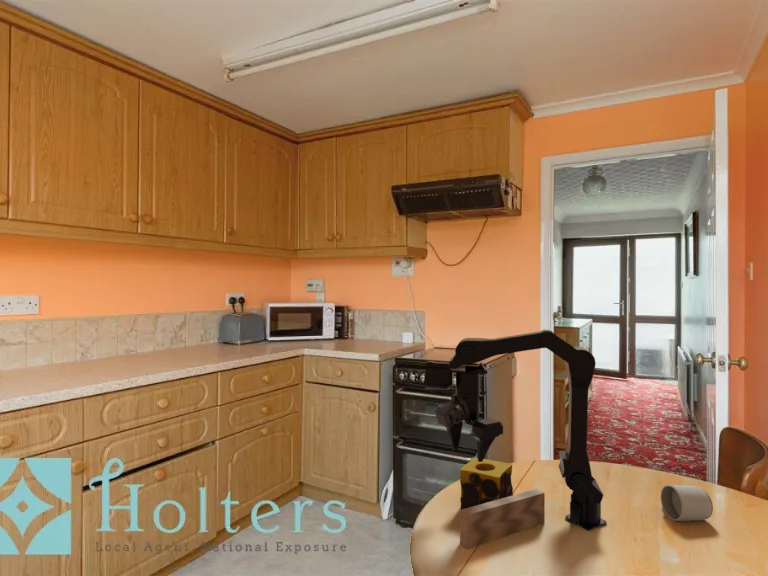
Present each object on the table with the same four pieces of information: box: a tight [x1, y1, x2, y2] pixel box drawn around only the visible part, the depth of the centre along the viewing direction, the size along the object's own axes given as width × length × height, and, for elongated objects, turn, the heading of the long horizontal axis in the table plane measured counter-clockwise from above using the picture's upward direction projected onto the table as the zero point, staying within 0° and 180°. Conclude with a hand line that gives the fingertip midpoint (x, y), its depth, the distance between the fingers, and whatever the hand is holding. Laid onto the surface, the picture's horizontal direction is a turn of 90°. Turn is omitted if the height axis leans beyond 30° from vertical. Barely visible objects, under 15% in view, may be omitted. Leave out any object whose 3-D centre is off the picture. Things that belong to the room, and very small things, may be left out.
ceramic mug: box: [660, 484, 714, 522], centre depth 112 cm, size 11×8×8 cm
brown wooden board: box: [459, 488, 546, 550], centre depth 104 cm, size 22×2×7 cm, turn 118°
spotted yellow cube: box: [459, 456, 514, 510], centre depth 117 cm, size 10×10×10 cm
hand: (467, 455), depth 115 cm, fingers open, 9 cm apart
